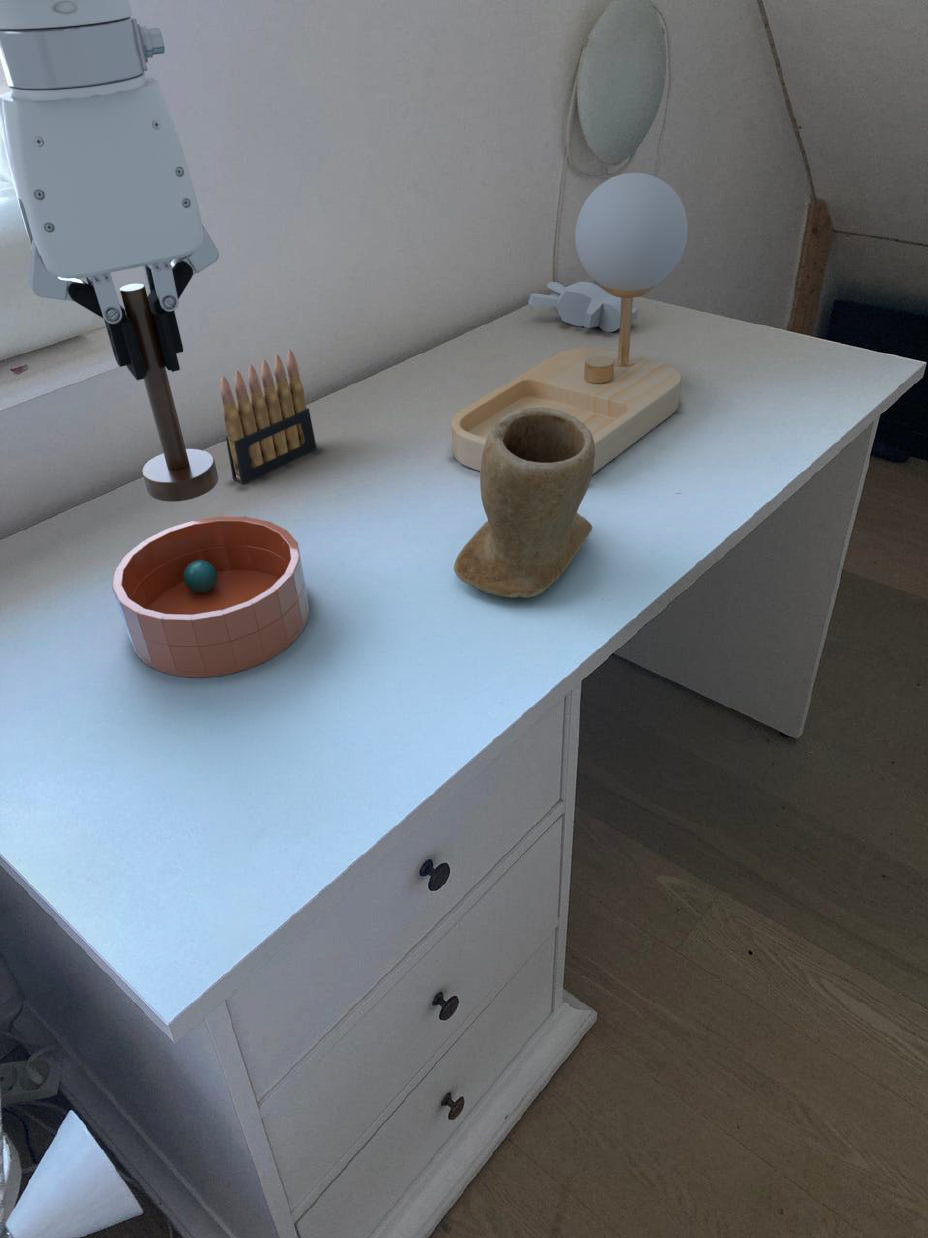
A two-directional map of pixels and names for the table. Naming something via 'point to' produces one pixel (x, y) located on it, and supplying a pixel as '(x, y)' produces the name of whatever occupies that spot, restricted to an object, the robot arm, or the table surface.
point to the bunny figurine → (583, 305)
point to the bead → (200, 576)
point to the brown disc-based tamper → (165, 416)
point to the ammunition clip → (266, 420)
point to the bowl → (213, 596)
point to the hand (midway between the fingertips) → (152, 367)
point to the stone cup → (529, 503)
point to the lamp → (615, 380)
